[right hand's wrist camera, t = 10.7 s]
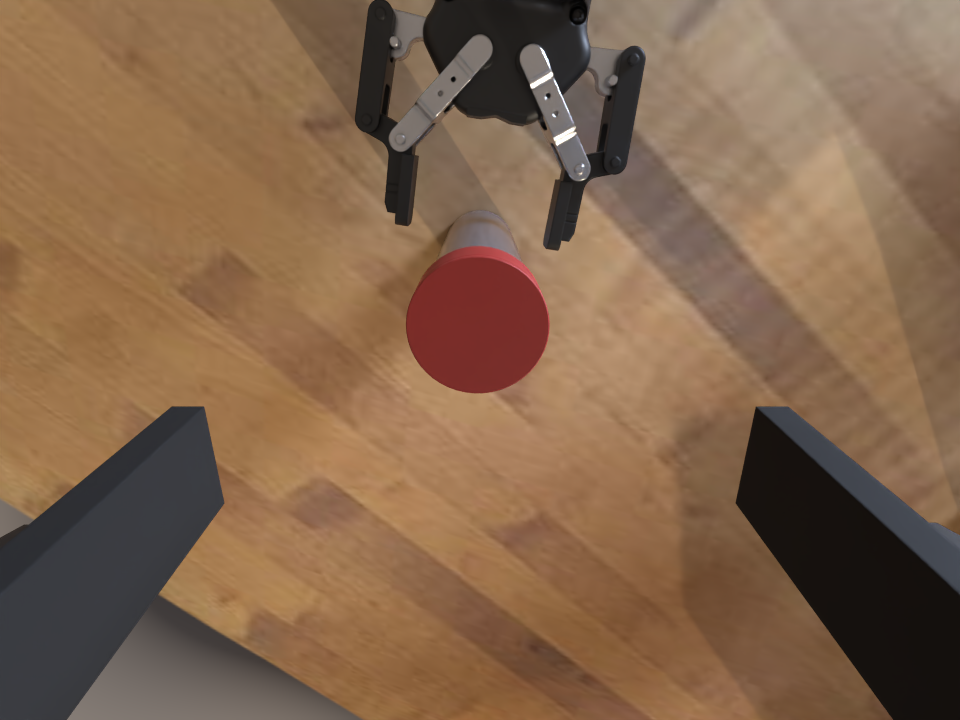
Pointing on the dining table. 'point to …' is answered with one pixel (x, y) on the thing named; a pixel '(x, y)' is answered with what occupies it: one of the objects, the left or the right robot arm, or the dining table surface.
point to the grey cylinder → (480, 233)
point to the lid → (477, 320)
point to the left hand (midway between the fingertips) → (477, 236)
